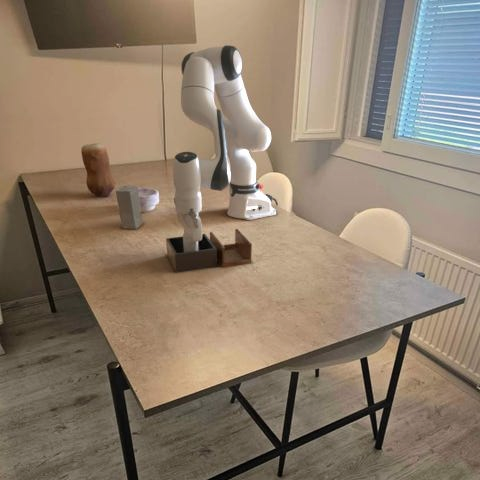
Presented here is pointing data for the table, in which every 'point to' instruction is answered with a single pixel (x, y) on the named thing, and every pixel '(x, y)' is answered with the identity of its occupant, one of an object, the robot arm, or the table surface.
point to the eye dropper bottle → (188, 244)
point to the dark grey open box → (191, 254)
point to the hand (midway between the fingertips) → (190, 243)
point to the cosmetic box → (129, 207)
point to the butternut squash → (97, 170)
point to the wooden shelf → (240, 244)
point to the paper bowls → (148, 199)
